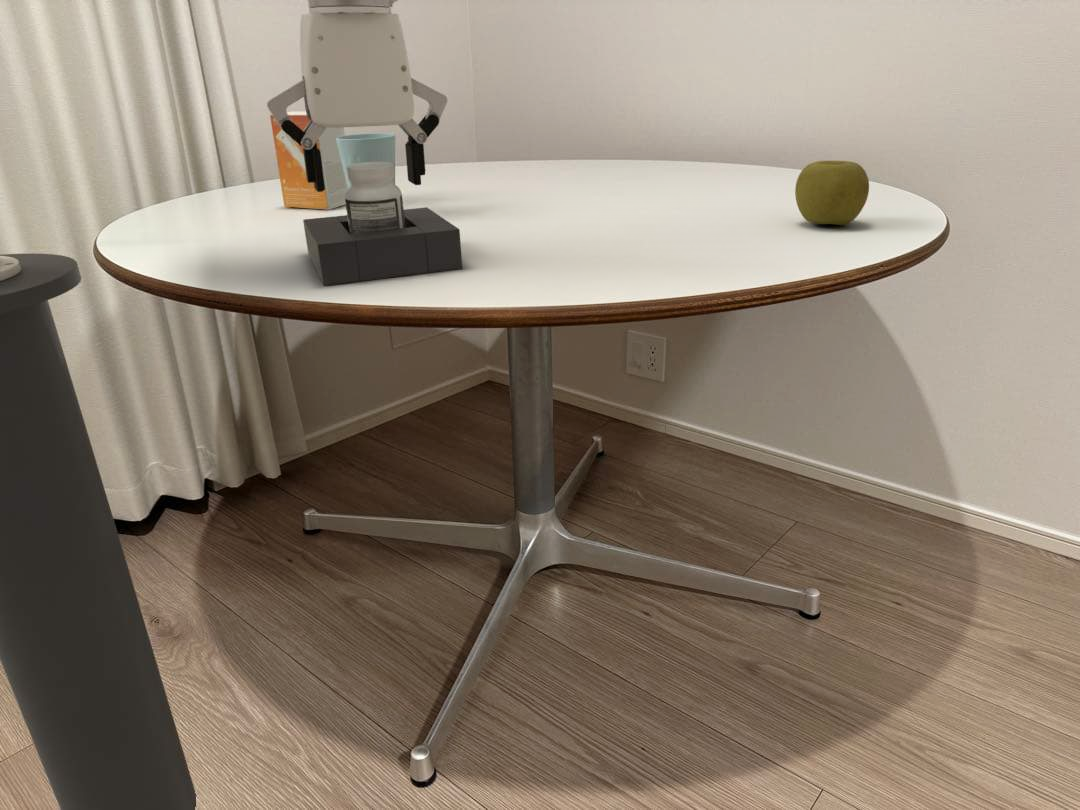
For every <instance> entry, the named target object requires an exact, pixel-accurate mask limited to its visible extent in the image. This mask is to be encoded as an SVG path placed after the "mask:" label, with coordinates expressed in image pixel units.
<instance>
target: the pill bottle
mask: <svg viewBox="0 0 1080 810" xmlns="http://www.w3.org/2000/svg"><path fill="white" fill-rule="evenodd" d="M347 174H348V178H349V181H351V187H350V188H349V189H348V190H347V191H346V194H345V202H346V205H345V208H346V215H347V217H348V223H349V230H350V234H352V233H361V232H371V231H380V230H390V229H399V228H405V221H404V211H403V210H404V202H403V193H402V190H401V189H400V187H399V186H398V185H396V184H395V185H394V183H393V178H394V175H395V176H396V171H395V172H394V165H393V163H389V162H366V163H358V164H352V165H349V166H347Z"/></svg>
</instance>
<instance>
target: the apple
mask: <svg viewBox="0 0 1080 810" xmlns="http://www.w3.org/2000/svg"><path fill="white" fill-rule="evenodd" d="M794 189H795V190H794V192H795V193H794V195H795V203H796V205H797V208H798V210H799V213H800V214H801V216H802V218H803V219H804V220H805V221H806V222H808V223H810V224H813V225H835V226H836V225H837V226H846V225H849V224H850V223H852V222H853V221H854V220H855V219H857V217H858V216H859V215H860V214H861V212H862V211H863V208H864V207H865V205H866V203H867V200H868V198H869V192H870V179H869V177H868V174H867V172H866V170H865V169H864V168H863V166H861V165H860V164H859V163H857V162H856V161H855V162H854V161H848V160H818V161H813V162H810V163H808V164H807V165H806V166H804V167H803V169H802V170H801V171H800V173H799V175H798V176H797V179H796V182H795V188H794Z"/></svg>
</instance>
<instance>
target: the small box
mask: <svg viewBox="0 0 1080 810" xmlns="http://www.w3.org/2000/svg"><path fill="white" fill-rule="evenodd" d="M286 112H287V114H288V116H289V117H290V119H291V120H292V122H293V123H294V124H295V125H296V126H298V127H299V128H300V129H301V130H302V131H304V129H305V128H306V126H307V125H308V123H309V122H310V120H309V119H308V117H307V114H306V110H304V111H303V110H301V111H300V110H299V111H298V110H297V111H296V110H293V111H286ZM269 118H270V125H271V130H272V131H271V132H272V137H273V142H274V143H273V144H274V151H275V156H276V162H277V169H278V175H279V176H278V177H279V181H280V187H281V194H282V201H283V206H284V208H298V209H299V208H300V209H312V210H313V209H314V210H325V211H329V210H332V209H336V208H340V207H343V206H346V202H345V194H346V191H347V190H348V187H347V183H346V179H345V175H344V171H343V166H342V162H341V158H340V154H339V150H338V145H337V141H336V138H337V137H339V136H345V135H346V134H345V127H341V128H328V127H326V129H325V130H324V132H323V133H322V135H321V136H320V137H319V139H318V140H317V142H316V143H317V148H318V149H319V150H320V152H321V160H322V169H323V177H324V185H325V190H323V192H317V190H316V189H315V187H314V182H311V183H308V181H307V176H306V168H305V160H304V153H303V147H302V146H300V145H299V144H298V143H297V142H296V141H295V140H293V139H292V138H291V137H290V136H289V135H288V134H286V133H285V132H284V131H283V130H282V128H281V127H280V125H279V124H278V122H277V121H276V119H275V118H274V116H273V115H272V113H271V114H269Z"/></svg>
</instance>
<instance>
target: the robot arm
mask: <svg viewBox="0 0 1080 810" xmlns="http://www.w3.org/2000/svg"><path fill="white" fill-rule="evenodd" d="M396 2H398V0H307V4H308V13H304V14H301V15H300V22H299V23H300V27H299V31H300V32H299V49H300V51H299V52H300V68H301V69H300V70H301V80H300V81H298V82H296V83H295V84H293V85H291V86H290V87H288V88H287V89H285V90H283V91H281V92H280V93H278V94H277V95H276V96H273V97H272V98H270V99H269V100H268V101H267V102H266V107H267V109H268V110H269V112H270V113H271V114H272V115H273V116H274V118H275V119H276V121H277V122H278V124H279V125H280V127H281V128H282V130H283V131H284V132H285V133H286V134H288V135H289V136H290V137H291V138H292V139H293V140H295V141H296V142H297V143H298V144H299V145H300V146H302V147H303V153H304V160H305V168H306V176H307V181H308V183H311V182H314V187H315V189H316V190H317V192H323V190H325V185H324V177H323V169H322V160H321V152H320V150H319V149H318V148H317V143H316V142H317V140H318V139H319V137H320V136H321V135H322V133H323V132H324V130H325V129H326V127H328V128H341V127H344V128H364V127H365V128H366V127H385V126H387V127H388V126H398V127H399V128H400V129H401V130H402V131H403V132H404V133H405V135H406V136H407V141H406V143H405V144H404V145H405V146H404V147H405V159H406V160H405V161H406V170H407V171H406V172H407V180H408V182H410V183H411V184H412V185H414V186H421V185H422V177H421V176H425V175H426V162H425V161H426V160H425V159H426V158H425V147H424V146H425V145H424V144H425V143H427V141H428V139H429V137H430V135H431V134H432V133H433V132H434V131H435V130H436V128H437V127H438V126H439V124H440V119H441V117H442V115H443V113H444V111H445V109H446V106H447V103H448V97H447V96H446V95H445V94H443V93H441V92H439V91H437V90H436V89H434V88H432V87H429V86H427V85H426V84H424V83H422V82H421V81H420V82H419V81H418V80H416V79H415V78H413V77H412V76H411V69H410V64H409V63H410V62H409V57H408V51H407V45H406V40H405V36H404V31H403V28H402V24H401V20H400V16H399V14H398V13H392V8H393V4H395V3H396ZM414 95H415V96H416V97H417V98H419V99H422V100H424V101H426V102H427V103H428V109H427V113H426V114H425V115H424V116H423V118H422V119H421V120H420V121H419V122H418V123H417V122H416V121H415V120H414V113H415V103H414V102H415V101H414ZM301 99H303V101H304V108H305V111H306V114H307V117H308V119H309V120H310V122H309V123H308V125H307V126H306V128H305V129H304V131H302V130H301V129H300V128H299V127H298V126H296V125H295V124H294V123H293V122H292V120H291V119H290V117H289V116H288V114H287V112H288V111H287V109H288V107H290V106H291V105H293V104H294V103H296V102H298V101H299V100H301ZM20 271H21V267H20V264H19V261H18V260H17V259H15V258H12V257H7V256H0V282H1V281H4V280H6V279H9V278H11V277H13V276H15V275H17V274H18V273H19V272H20Z"/></svg>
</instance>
